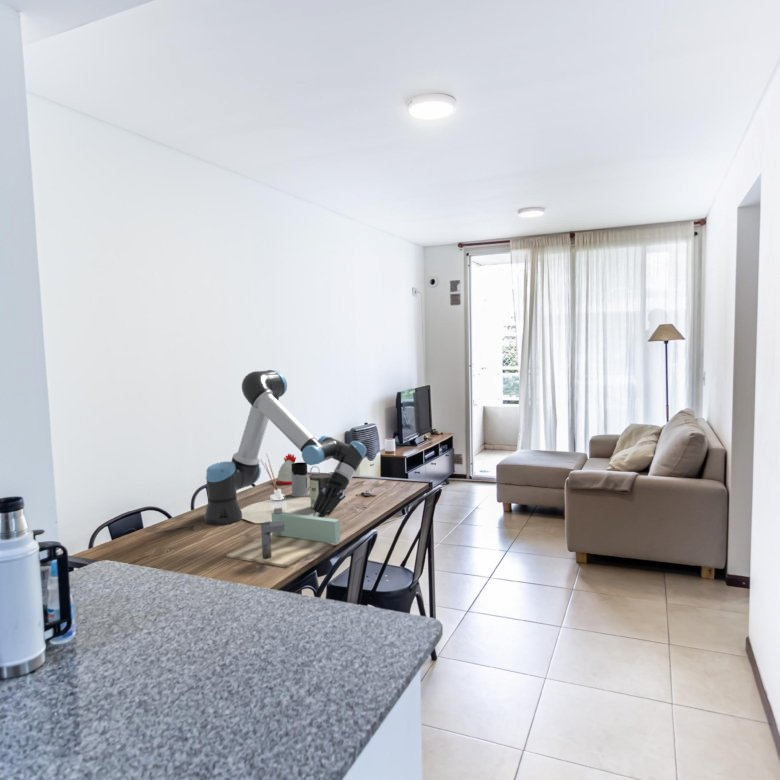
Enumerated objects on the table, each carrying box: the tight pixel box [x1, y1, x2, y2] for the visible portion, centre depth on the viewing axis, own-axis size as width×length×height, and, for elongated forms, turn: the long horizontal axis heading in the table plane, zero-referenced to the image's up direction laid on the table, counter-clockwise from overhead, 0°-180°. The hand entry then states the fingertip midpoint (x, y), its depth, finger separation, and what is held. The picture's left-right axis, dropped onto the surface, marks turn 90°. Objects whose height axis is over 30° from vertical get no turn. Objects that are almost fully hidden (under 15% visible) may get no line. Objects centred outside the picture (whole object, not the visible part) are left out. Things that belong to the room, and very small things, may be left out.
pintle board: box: [225, 507, 331, 568], centre depth 203 cm, size 26×28×11 cm
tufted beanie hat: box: [277, 453, 298, 486], centre depth 308 cm, size 14×14×15 cm
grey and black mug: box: [291, 461, 321, 498], centre depth 279 cm, size 9×14×15 cm, turn 87°
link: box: [271, 511, 341, 545], centre depth 211 cm, size 28×5×8 cm, turn 63°
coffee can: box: [308, 472, 332, 509], centre depth 256 cm, size 10×10×14 cm
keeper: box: [260, 521, 285, 559], centre depth 193 cm, size 8×5×12 cm, turn 98°
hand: (310, 529), depth 215 cm, fingers closed
